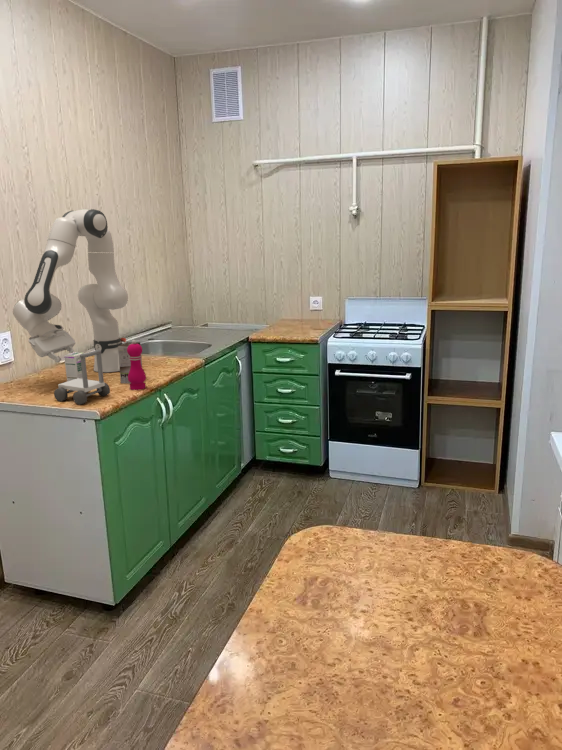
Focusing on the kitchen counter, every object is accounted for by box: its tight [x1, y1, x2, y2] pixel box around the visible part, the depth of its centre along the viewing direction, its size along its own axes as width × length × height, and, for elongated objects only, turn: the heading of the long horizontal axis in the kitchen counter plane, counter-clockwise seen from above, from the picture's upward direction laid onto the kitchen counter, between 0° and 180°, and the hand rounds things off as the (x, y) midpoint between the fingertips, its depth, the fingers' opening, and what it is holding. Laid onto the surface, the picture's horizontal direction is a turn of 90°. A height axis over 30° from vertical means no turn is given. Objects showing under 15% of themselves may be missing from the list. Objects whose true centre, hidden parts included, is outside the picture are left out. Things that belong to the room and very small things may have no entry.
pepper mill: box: [127, 339, 147, 391], centre depth 235 cm, size 7×7×20 cm
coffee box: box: [118, 341, 143, 384], centre depth 247 cm, size 9×6×16 cm
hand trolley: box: [53, 350, 111, 406], centre depth 223 cm, size 14×15×19 cm
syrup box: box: [63, 351, 85, 382], centre depth 238 cm, size 6×6×14 cm
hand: (66, 358), depth 237 cm, fingers open, 8 cm apart
